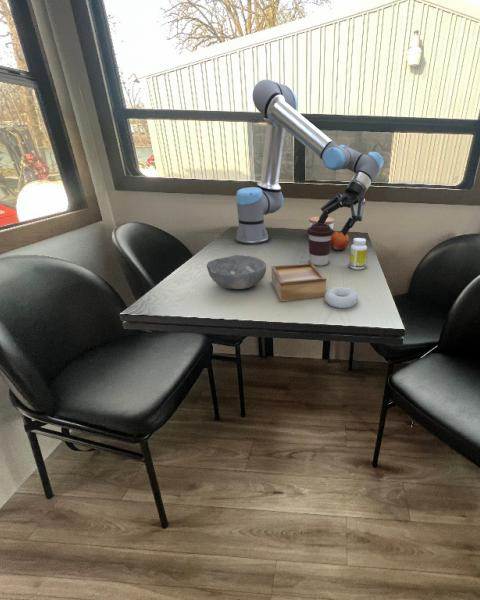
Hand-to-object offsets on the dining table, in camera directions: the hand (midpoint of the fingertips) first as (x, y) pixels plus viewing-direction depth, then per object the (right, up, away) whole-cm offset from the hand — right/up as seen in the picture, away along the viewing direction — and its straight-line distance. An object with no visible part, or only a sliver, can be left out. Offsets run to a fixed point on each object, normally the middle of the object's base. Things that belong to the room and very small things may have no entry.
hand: (330, 230), depth 116 cm
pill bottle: (+11, -15, 0) cm, 18 cm away
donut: (+2, -28, -27) cm, 40 cm away
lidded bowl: (-3, +5, +38) cm, 38 cm away
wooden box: (-11, -24, -21) cm, 34 cm away
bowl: (-30, -23, -20) cm, 43 cm away
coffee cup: (-4, -13, +2) cm, 14 cm away
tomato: (+4, -4, +20) cm, 21 cm away
